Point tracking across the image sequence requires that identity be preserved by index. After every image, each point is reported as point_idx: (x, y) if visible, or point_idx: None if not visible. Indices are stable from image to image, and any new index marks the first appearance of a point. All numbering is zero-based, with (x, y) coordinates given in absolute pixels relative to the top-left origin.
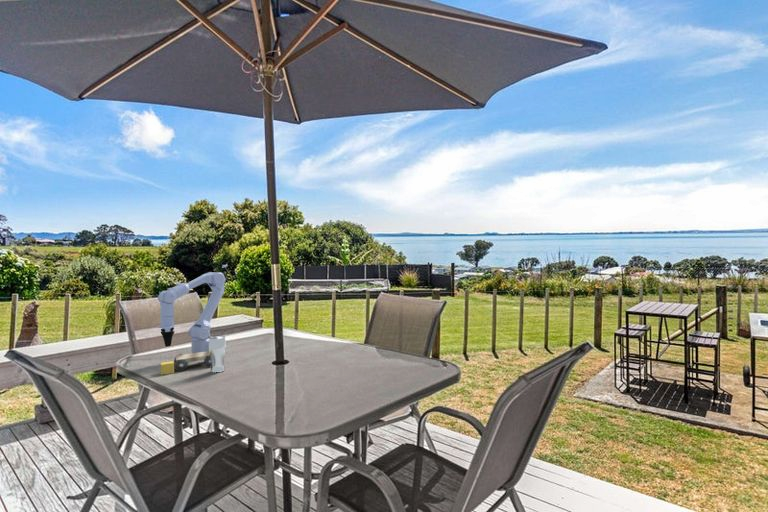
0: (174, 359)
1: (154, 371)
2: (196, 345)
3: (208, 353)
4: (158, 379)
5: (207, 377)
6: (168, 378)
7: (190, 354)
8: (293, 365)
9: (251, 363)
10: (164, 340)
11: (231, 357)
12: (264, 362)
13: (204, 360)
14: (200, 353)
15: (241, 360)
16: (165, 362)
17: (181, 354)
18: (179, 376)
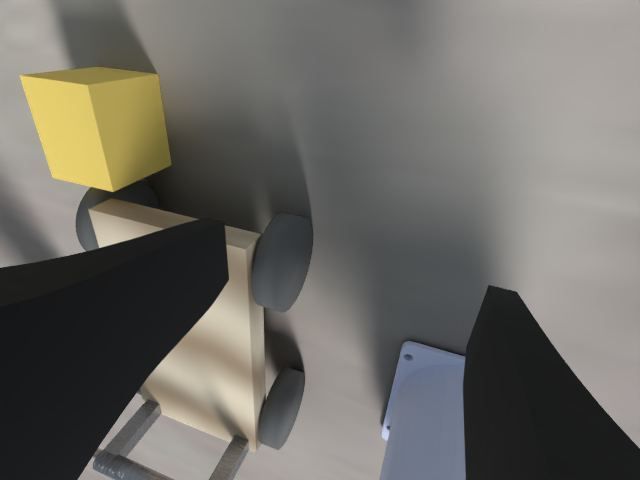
0: (282, 225)
1: (213, 22)
2: (388, 474)
3: (192, 407)
4: (6, 38)
5: (13, 258)
6: (18, 101)
7: (219, 337)
8: (93, 469)
9: (159, 439)
10: (97, 254)
11: (307, 465)
12: (155, 462)
13: (286, 368)
14: (217, 385)
15: (223, 450)
16: (84, 124)
17: (263, 297)
18: (45, 164)
